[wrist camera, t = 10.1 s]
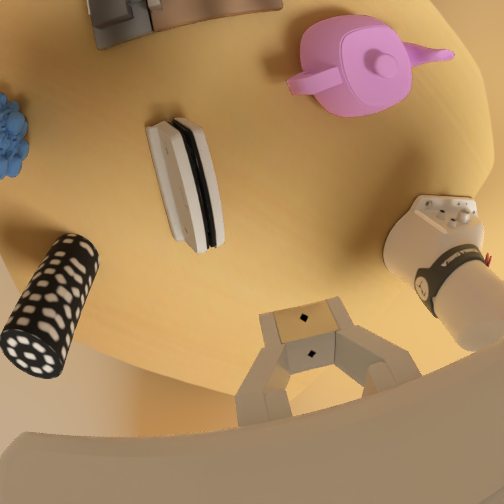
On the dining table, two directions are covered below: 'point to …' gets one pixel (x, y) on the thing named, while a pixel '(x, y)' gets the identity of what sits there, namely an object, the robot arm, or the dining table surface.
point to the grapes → (12, 138)
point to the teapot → (358, 65)
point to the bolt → (129, 0)
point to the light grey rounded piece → (187, 183)
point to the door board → (162, 16)
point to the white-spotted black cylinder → (51, 308)
